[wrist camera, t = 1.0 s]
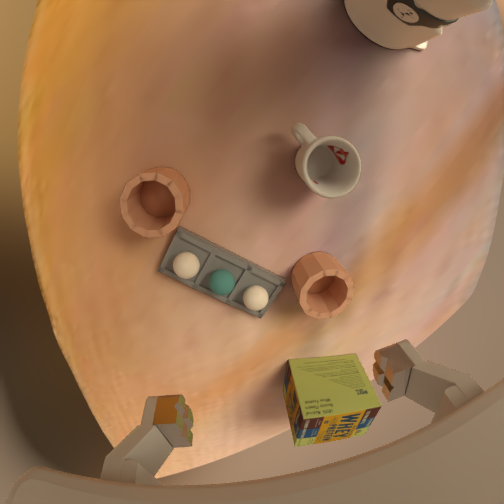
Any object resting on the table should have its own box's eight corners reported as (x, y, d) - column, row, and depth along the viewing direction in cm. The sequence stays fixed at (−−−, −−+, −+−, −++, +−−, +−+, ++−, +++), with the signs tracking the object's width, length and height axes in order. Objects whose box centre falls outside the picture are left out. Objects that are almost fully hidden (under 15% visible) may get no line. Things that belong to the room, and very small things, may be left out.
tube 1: (149, 157, 39) (135, 161, 32) (200, 183, 41) (195, 191, 35) (126, 207, 41) (111, 220, 35) (174, 232, 43) (166, 248, 37)
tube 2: (309, 242, 46) (321, 259, 40) (348, 265, 48) (363, 283, 42) (281, 285, 48) (288, 306, 42) (320, 303, 50) (331, 325, 44)
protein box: (287, 358, 55) (302, 419, 41) (356, 352, 56) (383, 405, 42) (281, 391, 59) (293, 447, 45) (345, 384, 60) (366, 435, 46)
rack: (159, 267, 45) (157, 271, 44) (179, 225, 43) (177, 228, 42) (259, 314, 50) (260, 318, 49) (284, 278, 48) (286, 282, 46)
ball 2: (216, 260, 45) (215, 272, 41) (239, 271, 46) (240, 283, 42) (205, 280, 46) (203, 293, 42) (227, 291, 47) (227, 304, 43)
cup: (265, 141, 39) (274, 142, 32) (307, 110, 38) (325, 105, 30) (309, 197, 43) (326, 211, 36) (348, 167, 41) (372, 174, 34)
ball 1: (181, 243, 43) (177, 253, 39) (205, 254, 44) (203, 266, 40) (171, 264, 44) (166, 276, 41) (193, 275, 45) (191, 287, 42)
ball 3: (250, 276, 46) (252, 289, 42) (271, 287, 47) (275, 299, 43) (237, 296, 47) (238, 309, 44) (258, 305, 48) (261, 319, 45)
